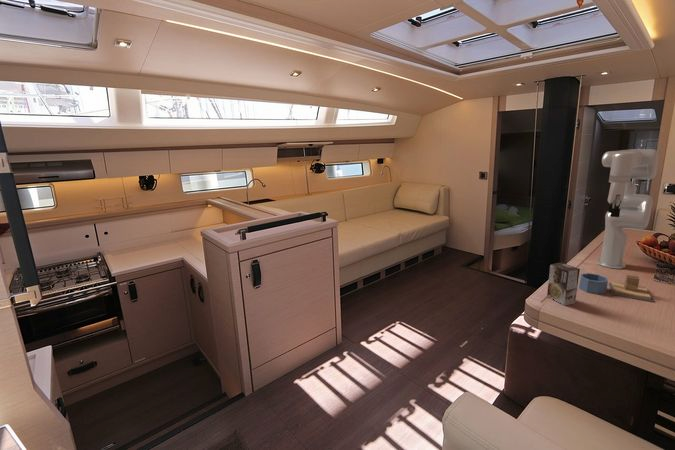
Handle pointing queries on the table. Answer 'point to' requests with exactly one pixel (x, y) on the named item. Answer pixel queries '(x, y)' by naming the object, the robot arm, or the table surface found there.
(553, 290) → the coffee box
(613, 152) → the robot arm
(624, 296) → the charcoal mat
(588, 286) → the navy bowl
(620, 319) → the table surface
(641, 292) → the oak lid
